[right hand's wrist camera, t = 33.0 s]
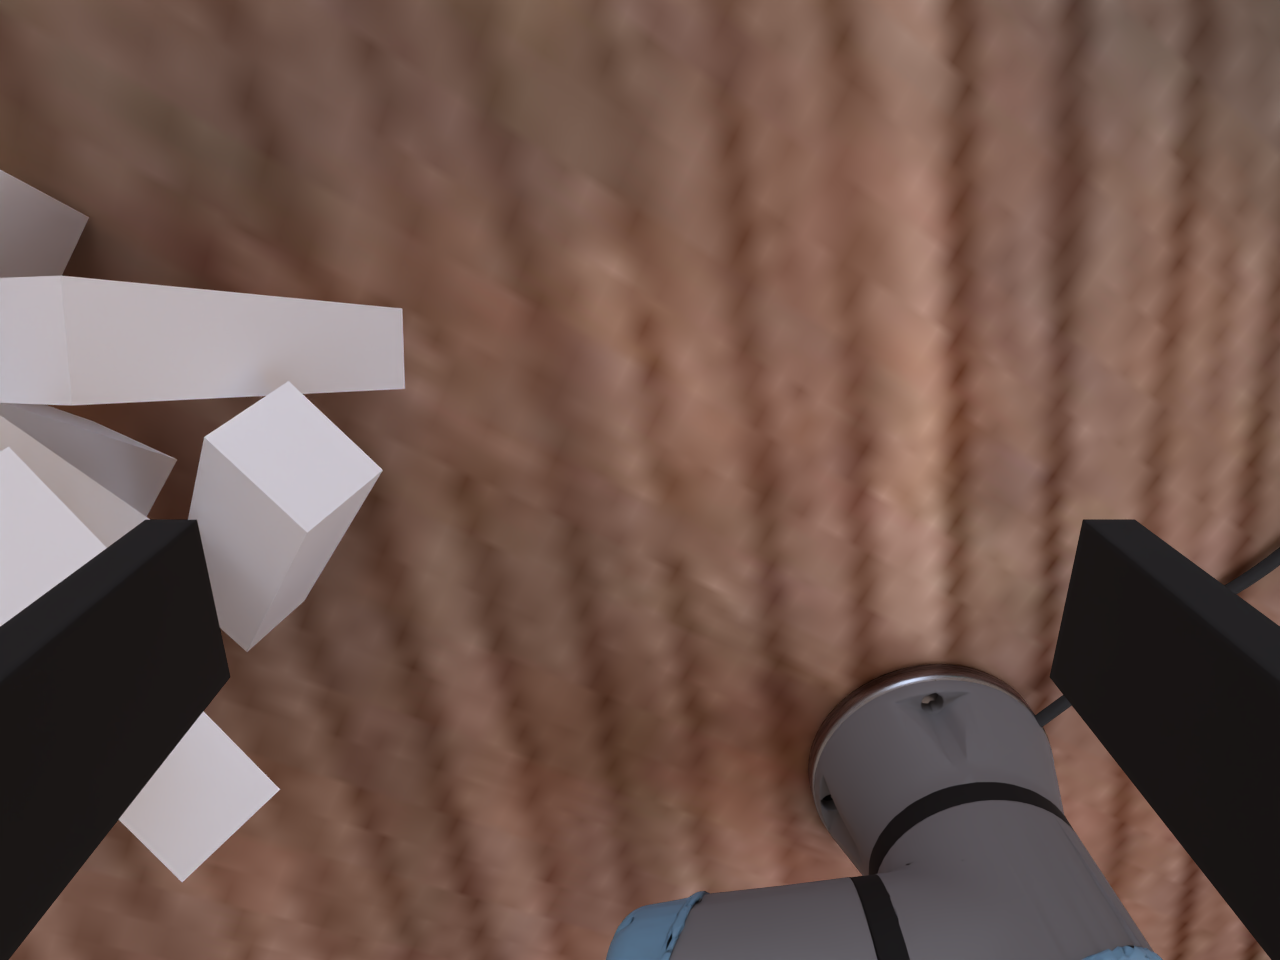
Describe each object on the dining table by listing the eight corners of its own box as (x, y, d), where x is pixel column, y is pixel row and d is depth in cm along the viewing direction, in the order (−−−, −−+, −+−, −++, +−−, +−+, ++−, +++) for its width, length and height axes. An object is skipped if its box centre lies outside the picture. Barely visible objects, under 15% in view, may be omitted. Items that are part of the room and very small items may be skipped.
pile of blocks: (475, 686, 59) (633, 948, 26) (-16, 848, 50) (-738, 1580, 17) (348, 197, 56) (348, -200, 23) (-198, 269, 47) (-1503, -230, 14)
